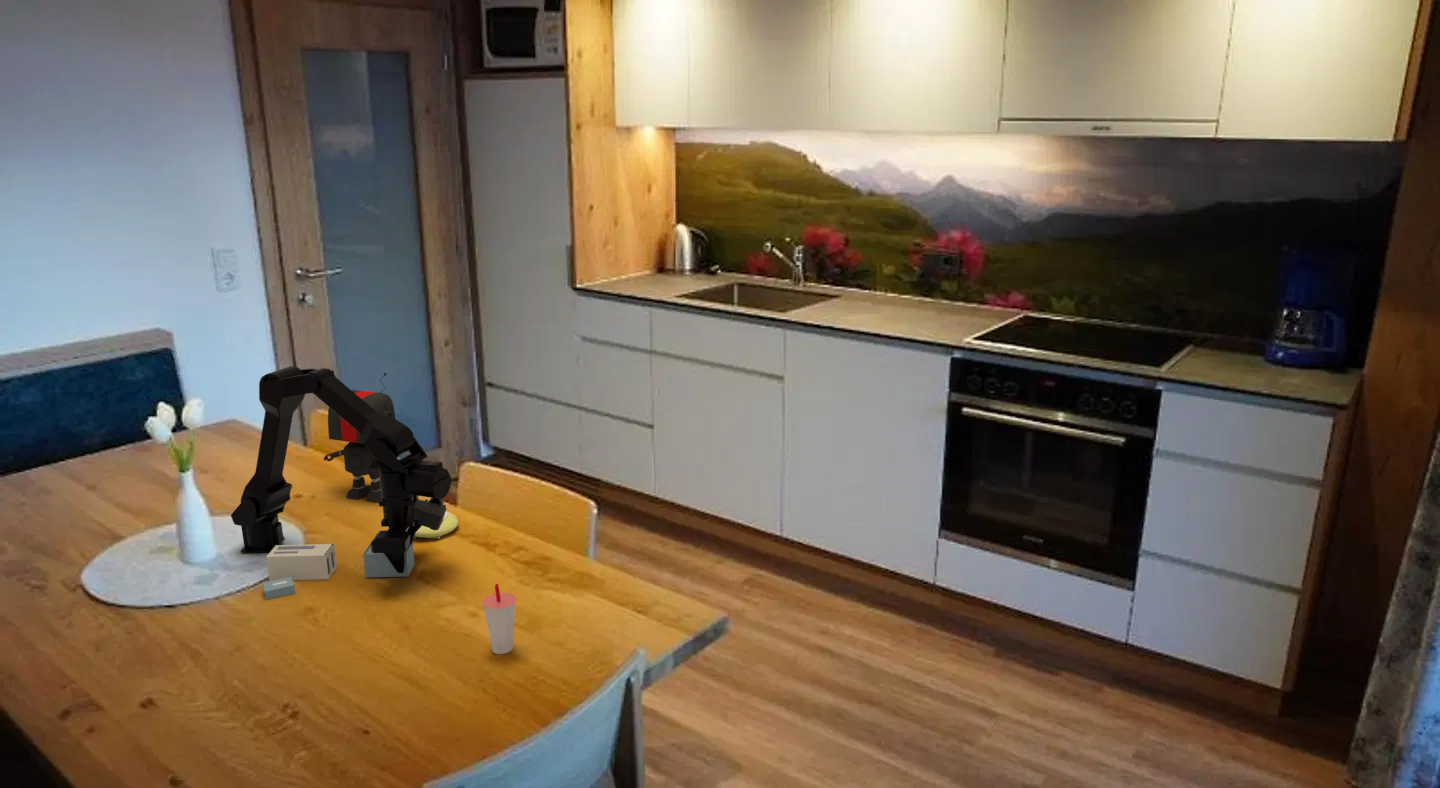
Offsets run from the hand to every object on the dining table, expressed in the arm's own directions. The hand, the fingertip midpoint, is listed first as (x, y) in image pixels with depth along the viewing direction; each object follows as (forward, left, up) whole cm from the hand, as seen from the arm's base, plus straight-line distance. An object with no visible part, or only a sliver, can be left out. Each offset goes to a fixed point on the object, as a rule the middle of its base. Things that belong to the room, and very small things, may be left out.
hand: (404, 566), depth 187 cm
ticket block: (-19, 0, -1) cm, 19 cm away
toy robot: (-18, +39, -1) cm, 43 cm away
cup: (+23, -29, -1) cm, 37 cm away
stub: (-3, 0, -1) cm, 3 cm away
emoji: (0, +19, -2) cm, 19 cm away
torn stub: (-21, -7, -2) cm, 22 cm away
